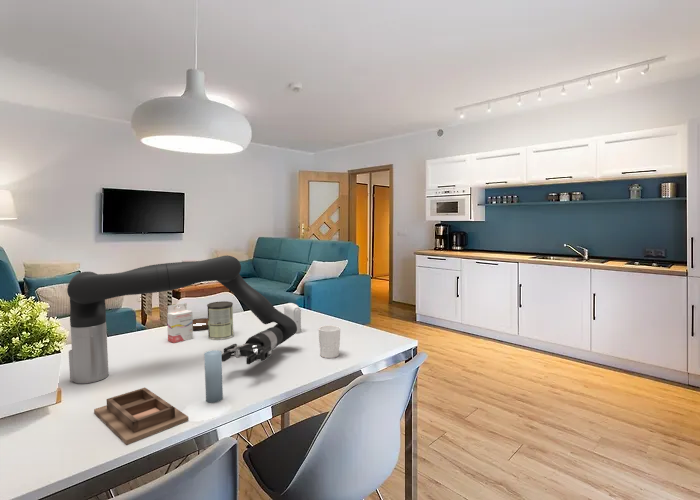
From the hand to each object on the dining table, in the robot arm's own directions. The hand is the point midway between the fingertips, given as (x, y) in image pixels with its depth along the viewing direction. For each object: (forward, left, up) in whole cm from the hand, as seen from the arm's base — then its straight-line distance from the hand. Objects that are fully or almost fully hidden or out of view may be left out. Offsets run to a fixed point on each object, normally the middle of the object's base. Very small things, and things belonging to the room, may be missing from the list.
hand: (234, 359), depth 118 cm
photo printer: (+7, +58, -8) cm, 59 cm away
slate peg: (-3, -10, -8) cm, 13 cm away
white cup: (+26, +26, -8) cm, 38 cm away
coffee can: (-22, +49, -8) cm, 54 cm away
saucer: (-37, +64, -8) cm, 74 cm away
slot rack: (-18, -20, -7) cm, 28 cm away
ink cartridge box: (-37, +44, -8) cm, 58 cm away
